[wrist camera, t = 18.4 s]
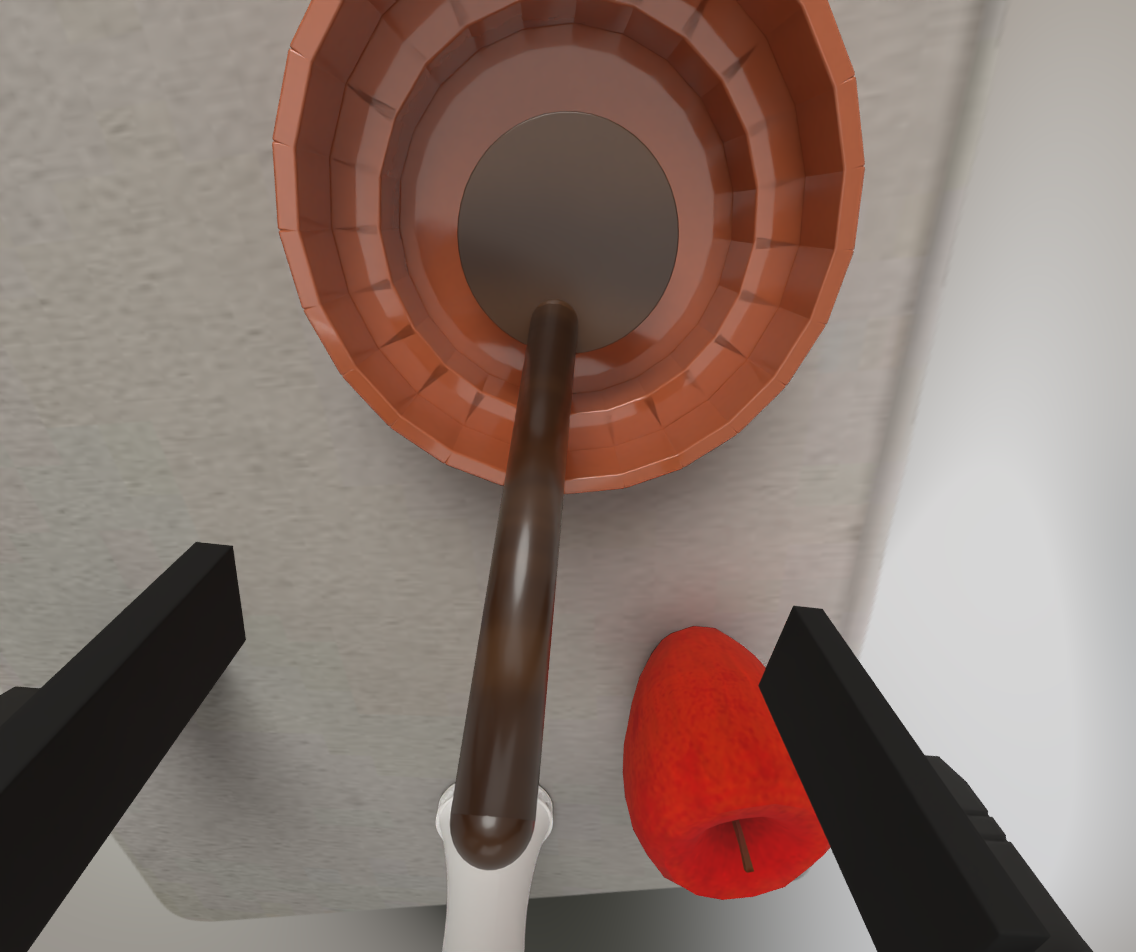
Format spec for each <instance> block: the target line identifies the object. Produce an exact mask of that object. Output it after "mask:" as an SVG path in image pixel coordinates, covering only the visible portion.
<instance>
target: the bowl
mask: <svg viewBox="0 0 1136 952" xmlns="http://www.w3.org/2000/svg"><path fill="white" fill-rule="evenodd" d="M290 47H291V49H289V50H288V56H287V61H286V67H285V72H284V78H283V83H282V89H281V94H280V100H279V105H278V111H277V116H276V122H275V127H274V133H273V140H274V142H273V143H272V147H273V161H274V176H275V191H276V206H277V221H278V229H279V230H280V231H279V235H280V238H281V241H282V244H283V247H284V251H285V254H286V257H287V260H288V264H289V267H290V270H291V273H292V276H293V280H294V283H295V286H296V289H297V293H298V296H299V299H300V302H301V305H302V308H303V309H304V312H305V314H306V316H307V318H308V319H309V321H310V323H311V324H312V326H313V328H314V330H315V331H316V333H317V335H318V336H319V338H320V340H321V342H322V343H323V345H324V347H325V348H326V350H327V352H328V354H329V355H330V357H331V359H332V360H333V362H334V364H335V366H336V367H337V369H338V371H339V372H340V374H341V375H343V378H344V379H345V380H346V381H347V382H348V383H349V384H350V385H351V386H352V388H353V389H354V390H355V391H356V392H357V393H358V394H359V395H360V396H361V397H362V398H363V399H364V400H365V401H366V402H367V404H368V405H369V406H370V407H371V408H372V409H373V410H374V411H375V412H376V413H377V414H378V415H379V416H380V417H381V418H382V420H383V421H384V422H385V423H386V424H387V425H388V426H391V428H392V429H393V430H394V431H396V432H397V433H399V434H400V435H402V436H403V437H405V438H406V439H408V440H409V441H411V442H412V443H414V444H415V445H417V446H418V447H420V448H421V449H423V450H424V451H426V452H427V453H429V454H430V455H432V456H433V457H435V458H436V459H438V460H439V461H441V462H442V463H446V465H448V466H451V467H454V468H456V469H459V470H461V471H464V472H467V473H469V474H472V475H475V476H477V477H480V478H483V479H485V480H488V481H491V482H493V483H496V484H499V485H501V486H503V485H504V481H505V475H506V469H507V463H508V457H509V451H510V444H511V438H512V432H513V426H514V420H515V414H516V408H517V401H518V395H519V389H520V383H521V377H522V371H523V364H524V358H525V352H526V346H527V345H525V344H523V343H521V342H519V341H518V340H516V339H514V338H512V337H511V336H509V335H508V334H507V333H505V332H504V331H503V330H501V329H500V328H499V327H498V326H497V325H496V324H495V323H494V322H493V321H492V320H491V319H490V318H489V317H488V316H487V315H486V313H485V312H484V311H483V310H482V308H481V307H480V305H479V304H478V302H477V301H476V299H475V298H474V296H473V294H472V292H471V290H470V288H469V286H468V284H467V281H466V278H465V275H464V272H463V269H462V266H461V261H460V256H459V251H458V239H457V228H458V215H459V209H460V203H461V200H462V196H463V193H464V189H465V187H466V184H467V182H468V180H469V177H470V175H471V173H472V171H473V169H474V168H475V166H476V164H477V163H478V161H479V159H480V158H481V157H482V156H483V154H484V153H485V152H486V151H487V149H488V148H489V147H490V146H491V145H492V144H493V143H494V142H495V141H496V140H497V139H498V138H499V137H500V136H501V135H503V134H504V133H505V132H507V131H508V130H510V129H511V128H513V127H514V126H515V125H517V124H519V123H521V122H523V121H525V120H527V119H529V118H533V117H536V116H539V115H542V114H545V113H552V112H558V111H579V112H585V113H591V114H595V115H598V116H601V117H604V118H607V119H609V120H611V121H613V122H615V123H617V124H619V125H621V126H623V127H624V128H625V129H627V130H628V131H630V132H631V133H632V134H634V135H635V136H636V137H637V138H638V139H639V140H640V141H641V142H643V143H644V144H645V145H646V146H647V148H648V149H649V150H650V151H651V153H652V154H653V155H654V156H655V158H656V159H657V161H658V162H659V164H660V166H661V167H662V169H663V171H664V172H665V174H666V177H667V179H668V181H669V184H670V186H671V188H672V192H673V195H674V199H675V202H676V208H677V214H678V223H679V241H678V252H677V257H676V262H675V266H674V269H673V272H672V275H671V279H670V281H669V283H668V286H667V288H666V290H665V292H664V294H663V296H662V297H661V299H660V301H659V302H658V304H657V305H656V307H655V308H654V310H653V311H652V312H651V313H650V315H649V316H648V317H647V318H646V319H645V320H644V321H643V322H642V323H641V324H640V325H639V326H638V327H637V328H636V329H634V330H633V331H632V332H631V333H629V334H628V335H627V336H625V337H623V338H622V339H620V340H618V341H617V342H615V343H613V344H610V345H608V346H606V347H603V348H601V349H597V350H593V351H590V352H584V353H577V354H576V356H575V368H574V380H573V391H572V403H571V414H570V426H569V438H568V449H567V461H566V473H565V484H564V494H574V493H584V492H594V491H604V490H614V489H623V488H624V487H625V488H627V487H630V486H633V485H636V484H639V483H642V482H645V481H648V480H651V479H654V478H656V477H659V476H662V475H665V474H668V473H671V472H674V471H677V470H680V469H682V468H683V467H686V466H687V465H689V464H691V463H692V462H694V461H695V460H697V459H699V458H700V457H702V456H703V455H705V454H707V453H708V452H710V451H711V450H713V449H715V448H716V447H718V446H719V445H721V444H723V443H724V442H726V441H728V440H729V439H731V438H732V437H734V436H736V435H737V433H739V432H740V431H741V430H743V429H744V428H745V427H746V426H747V425H748V424H749V423H750V422H751V421H752V420H753V419H754V418H755V417H756V416H757V415H758V414H759V413H760V412H761V411H762V410H763V409H764V408H765V407H766V406H767V405H768V404H769V403H770V402H771V401H772V400H773V399H774V398H775V397H776V396H777V395H778V394H779V393H780V392H781V391H782V390H783V389H784V388H785V385H787V384H788V383H789V382H790V380H791V378H792V377H793V375H794V374H795V372H796V371H797V369H798V368H799V366H800V365H801V363H802V361H803V360H804V358H805V357H806V355H807V354H808V352H809V351H810V349H811V348H812V346H813V344H814V343H815V341H816V340H817V338H818V337H819V335H820V334H821V332H822V331H823V329H824V327H825V324H827V322H828V320H829V317H830V314H831V312H832V309H833V306H834V303H835V301H836V298H837V295H838V293H839V290H840V287H841V285H842V282H843V279H844V277H845V274H846V271H847V268H848V266H849V263H850V260H851V258H852V255H853V252H854V251H853V250H854V247H855V239H856V232H857V224H858V217H859V209H860V202H861V194H862V187H863V179H864V171H865V167H864V164H865V161H864V151H863V141H862V132H861V122H860V112H859V103H858V93H857V83H856V78H855V77H853V76H854V75H855V72H854V70H853V67H852V64H851V62H850V59H849V56H848V54H847V51H846V48H845V46H844V43H843V40H842V38H841V35H840V32H839V30H838V27H837V24H836V22H835V19H834V16H833V13H832V11H831V8H830V5H829V3H828V0H311V2H310V5H309V7H308V9H307V11H306V13H305V15H304V17H303V19H302V21H301V23H300V25H299V27H298V29H297V32H296V34H295V36H294V38H293V40H292V42H291V44H290Z"/></svg>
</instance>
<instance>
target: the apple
mask: <svg viewBox="0 0 1136 952" xmlns="http://www.w3.org/2000/svg"><path fill="white" fill-rule="evenodd" d="M765 669H766V668H765V667H764V665H763V664H762V663H761V662H760V661H759V660H758V659H757V658H756V656H755V655H754V654H752V653H751V652H750V651H749V650H747V649H746V648H745V647H744V646H742V645H741V644H740V643H738V642H737V641H735V640H733V639H732V638H730V637H729V636H727V635H726V634H724V633H722V632H721V631H719V630H717V629H716V628H709V627H699V626H692V627H689V628H686V629H683V630H680V631H677V632H674V633H671V634H670V635H668V636H667V637H665V638H664V639H663V640H662V641H661V642H660V643H659V645H658V646H657V647H656V649H655V650H654V651H653V653H652V654H651V656H650V658H649V660H648V662H647V664H646V666H645V668H644V669H643V671H642V673H641V675H640V677H639V681H638V684H637V687H636V691H635V694H634V697H633V701H632V705H631V710H630V716H629V721H628V726H627V731H626V736H625V741H624V754H623V779H624V790H625V798H626V802H627V806H628V810H629V814H630V819H631V823H632V827H633V830H634V832H635V834H636V836H637V837H638V839H639V841H640V843H641V845H642V846H643V848H644V850H645V852H646V854H647V855H648V857H649V858H650V859H651V860H652V862H653V863H654V864H655V866H656V867H657V868H658V870H659V871H660V872H661V874H662V875H663V876H664V877H665V878H667V879H669V880H670V881H672V882H674V883H676V884H678V885H680V886H682V887H684V888H686V889H687V890H689V891H691V892H692V893H694V894H696V895H699V896H705V897H710V898H716V899H721V900H724V899H735V898H745V897H753V896H757V895H760V894H764V893H767V892H770V891H773V890H776V889H779V888H783V887H785V886H786V885H787V884H789V883H790V882H792V881H793V880H794V879H795V878H797V877H798V876H799V875H800V874H802V873H803V872H804V871H806V870H807V869H808V868H809V867H811V866H812V865H813V864H814V863H815V862H816V861H817V860H818V859H820V858H821V857H822V856H823V855H824V854H825V853H826V852H827V850H828V849H829V848H830V845H829V843H828V840H827V838H826V836H825V834H824V831H823V829H822V827H821V825H820V823H819V820H818V818H817V816H816V814H815V811H814V809H813V807H812V805H811V803H810V800H809V798H808V796H807V794H806V791H805V789H804V787H803V785H802V782H801V780H800V778H799V776H798V774H797V771H796V769H795V767H794V765H793V762H792V760H791V758H790V756H789V754H788V751H787V749H786V747H785V745H784V742H783V740H782V738H781V736H780V733H779V731H778V729H777V727H776V725H775V722H774V720H773V718H772V716H771V713H770V711H769V709H768V707H767V705H766V702H765V700H764V698H763V696H762V693H761V691H760V689H759V687H758V685H759V682H760V680H761V678H762V676H763V673H764V671H765Z"/></svg>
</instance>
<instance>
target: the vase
mask: <svg viewBox="0 0 1136 952" xmlns="http://www.w3.org/2000/svg"><path fill="white" fill-rule="evenodd" d="M454 789H455V784H453V785H452V786H450V787H449V788H448V789H447V790H446V791H445V792H444V793H443V795H442V796H441V798H440V801H439V805H438V812H437V816H436V828H437V831H438V833H439V835H440V836H441V838H442V839H443V843H444V849H445V857H446V867H447V913H446V914H447V915H446V925H445V934H444V942H443V948H442V952H524V945H525V925H526V913H527V905H528V898H529V893H530V887H531V882H532V877H533V873H534V869H535V865H536V861H537V858H538V855H539V851H540V848H541V846H542V843H543V842H544V841H545V840H546V838H547V837H548V836H549V834H550V832H551V830H552V826H553V817H552V813H553V805H552V801H551V799H550V797H549V795H548V794H547V792H546V791H545V790H544V789H543V788H542V787H540V786H539V787H538V798H537V810H536V821H535V827H534V832H533V835H532V838H531V840H530V842H529V844H528V846H527V848H526V850H525V851H524V852H523V853H522V855H521V856H520V857H519V858H518V859H517V860H515V861H514V862H513V863H512V864H510V865H508V866H506V867H504V868H501V869H497V870H482V869H478V868H475V867H473V866H471V865H470V864H468V863H467V862H466V861H465V860H463V858H462V857H461V856H460V855H459V853H458V852H457V850H456V848H455V846H454V844H453V841H452V837H451V834H450V813H451V807H452V801H453V795H454Z"/></svg>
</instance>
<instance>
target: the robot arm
mask: <svg viewBox="0 0 1136 952" xmlns="http://www.w3.org/2000/svg"><path fill="white" fill-rule="evenodd" d="M245 640H246V637H245V630H244V623H243V616H242V608H241V601H240V594H239V587H238V580H237V573H236V566H235V558H234V551H233V546H229V545H219V544H210V543H200V542H195V543H194V544H193V545H192V546H191V547H190V548H189V549H188V550H187V551H186V552H185V553H184V554H183V555H182V556H181V557H180V558H178V559H177V560H176V561H175V562H174V563H173V564H172V565H171V566H170V567H169V568H168V569H167V570H166V571H165V572H164V573H163V574H161V575H160V576H159V577H158V578H157V579H156V580H155V581H154V582H153V583H152V584H151V585H150V586H149V587H148V588H147V589H146V590H144V591H143V592H142V593H141V594H140V595H139V596H138V597H137V598H136V599H135V600H134V601H133V602H132V603H131V604H130V605H129V606H128V607H126V608H125V609H124V610H123V611H122V612H121V613H120V614H119V615H118V616H117V617H116V618H115V619H114V620H113V621H112V622H111V623H109V624H108V625H107V626H106V627H105V628H104V629H103V630H102V631H101V632H100V633H99V634H98V635H97V636H96V637H95V638H94V639H92V640H91V641H90V642H89V643H88V644H87V645H86V646H85V647H84V648H83V649H82V650H81V651H80V652H79V653H78V654H77V655H76V656H74V657H73V658H72V659H71V660H70V661H69V662H68V663H67V664H66V665H65V666H64V667H63V668H62V669H61V670H60V671H59V672H57V673H56V674H55V675H54V676H53V677H52V678H51V679H50V680H49V681H48V682H47V683H46V684H45V685H44V686H43V687H42V688H28V687H14V688H12V689H10V690H8V691H7V692H5V693H3V694H2V695H0V952H27V951H28V950H29V948H30V947H31V946H32V944H33V943H34V941H35V940H36V938H37V937H38V936H39V934H40V933H41V931H42V930H43V928H44V927H45V926H46V924H47V923H48V921H49V920H50V919H51V917H52V916H53V914H54V913H55V911H56V910H57V908H58V907H59V906H60V904H61V903H62V901H63V900H64V899H65V897H66V895H67V894H68V893H69V891H70V890H71V889H72V887H73V886H74V884H75V883H76V881H77V880H78V879H79V877H80V876H81V874H82V873H83V871H84V870H85V869H86V867H87V866H88V864H89V863H90V861H91V860H92V859H93V857H94V856H95V854H96V853H97V852H98V850H99V849H100V847H101V846H102V844H103V843H104V842H105V840H106V839H107V837H108V836H109V834H110V833H111V832H112V830H113V829H114V827H115V826H116V824H117V823H118V822H119V820H120V819H121V817H122V816H123V814H124V813H125V812H126V810H127V809H128V807H129V806H130V804H131V803H132V802H133V800H134V799H135V797H136V796H137V794H138V793H139V792H140V790H141V789H142V787H143V786H144V784H145V783H146V782H147V780H148V779H149V777H150V776H151V775H152V773H153V772H154V770H155V769H156V767H157V766H158V765H159V763H160V762H161V760H162V759H163V757H164V756H165V755H166V753H167V752H168V750H169V749H170V747H171V746H172V745H173V743H174V742H175V740H176V739H177V737H178V736H179V735H180V733H181V732H182V730H183V729H184V727H185V726H186V725H187V723H188V722H189V720H190V719H191V717H192V716H193V715H194V713H195V712H196V710H197V709H198V708H199V706H200V705H201V703H202V702H203V700H204V699H205V698H206V696H207V695H208V693H209V692H210V690H211V689H212V688H213V686H214V685H215V683H216V682H217V680H218V679H219V678H220V676H221V675H222V673H223V672H224V670H225V669H226V668H227V666H228V665H229V663H230V662H231V660H232V659H233V658H234V656H235V655H236V653H237V652H238V650H239V649H240V648H241V646H242V645H243V643H244V642H245ZM758 687H759V689H760V691H761V693H762V696H763V698H764V700H765V702H766V705H767V707H768V709H769V711H770V713H771V716H772V718H773V720H774V722H775V725H776V727H777V729H778V731H779V733H780V736H781V738H782V740H783V742H784V745H785V747H786V749H787V751H788V754H789V756H790V758H791V760H792V762H793V765H794V767H795V769H796V771H797V774H798V776H799V778H800V780H801V782H802V785H803V787H804V789H805V791H806V794H807V796H808V798H809V800H810V803H811V805H812V807H813V809H814V811H815V814H816V816H817V818H818V820H819V823H820V825H821V827H822V829H823V831H824V834H825V836H826V838H827V840H828V843H829V845H830V847H831V849H832V852H833V854H834V856H835V858H836V860H837V863H838V864H839V867H840V869H841V871H842V874H843V876H844V878H845V880H846V883H847V885H848V887H849V889H850V892H851V894H852V896H853V898H854V900H855V903H856V905H857V907H858V909H859V912H860V914H861V916H862V918H863V921H864V923H865V925H866V927H867V929H868V932H869V934H870V936H871V938H872V941H873V943H874V945H875V947H876V950H877V952H1093V951H1092V950H1091V948H1090V947H1089V946H1088V945H1087V943H1086V942H1085V941H1084V940H1083V939H1082V937H1081V936H1080V935H1079V934H1078V932H1077V931H1076V930H1075V928H1074V927H1073V925H1072V924H1071V923H1070V921H1069V920H1068V919H1067V917H1066V916H1065V915H1064V913H1063V912H1062V911H1061V909H1060V908H1059V907H1058V905H1057V904H1056V903H1055V901H1054V900H1053V899H1052V897H1051V896H1050V895H1049V893H1048V892H1047V890H1046V889H1045V888H1044V886H1043V885H1042V884H1041V882H1040V881H1039V880H1038V878H1037V877H1036V875H1035V874H1034V873H1033V871H1032V870H1031V869H1030V867H1029V866H1028V865H1027V863H1026V862H1025V861H1024V859H1023V858H1022V857H1021V855H1020V854H1019V853H1018V851H1017V850H1016V848H1015V847H1014V846H1013V844H1012V843H1011V842H1008V841H1007V840H1006V835H1005V834H1004V832H1003V831H1002V829H1001V828H1000V827H999V825H998V824H997V823H996V821H995V820H994V819H993V817H989V815H988V810H987V809H986V808H985V806H984V805H983V804H982V802H981V801H980V800H979V798H978V797H977V796H976V794H975V793H974V792H973V790H972V789H971V787H970V786H969V785H968V783H967V782H966V781H965V780H964V779H963V778H962V777H960V776H959V775H958V774H957V773H956V772H955V771H954V770H953V769H952V768H951V767H950V766H949V765H947V764H946V763H945V762H944V761H943V760H942V759H941V758H940V757H938V756H926V755H924V754H923V753H922V751H921V750H920V748H919V746H918V745H917V744H916V742H915V741H914V739H913V738H912V736H911V735H910V734H909V732H908V731H907V730H906V728H905V726H904V725H903V724H902V722H901V721H900V719H899V718H898V716H897V715H896V714H895V712H894V711H893V709H892V708H891V706H890V705H889V704H888V702H887V701H886V699H885V698H884V696H883V695H882V694H881V692H880V691H879V689H878V688H877V687H876V685H875V683H874V682H873V681H872V679H871V678H870V676H869V675H868V674H867V672H866V671H865V669H864V668H863V666H862V665H861V663H860V662H859V661H858V659H857V658H856V656H855V655H854V653H853V652H852V651H851V649H850V648H849V646H848V645H847V643H846V642H845V641H844V639H843V638H842V636H841V635H840V633H839V632H838V631H837V629H836V628H835V626H834V625H833V623H832V622H831V620H830V619H829V618H828V616H827V615H826V613H825V612H824V610H823V609H818V608H809V607H800V606H793V608H792V610H791V612H790V615H789V617H788V619H787V621H786V624H785V626H784V628H783V630H782V633H781V635H780V637H779V639H778V642H777V644H776V646H775V648H774V651H773V653H772V655H771V658H770V660H769V662H768V664H767V667H766V669H765V671H764V673H763V676H762V678H761V680H760V682H759V685H758Z"/></svg>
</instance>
